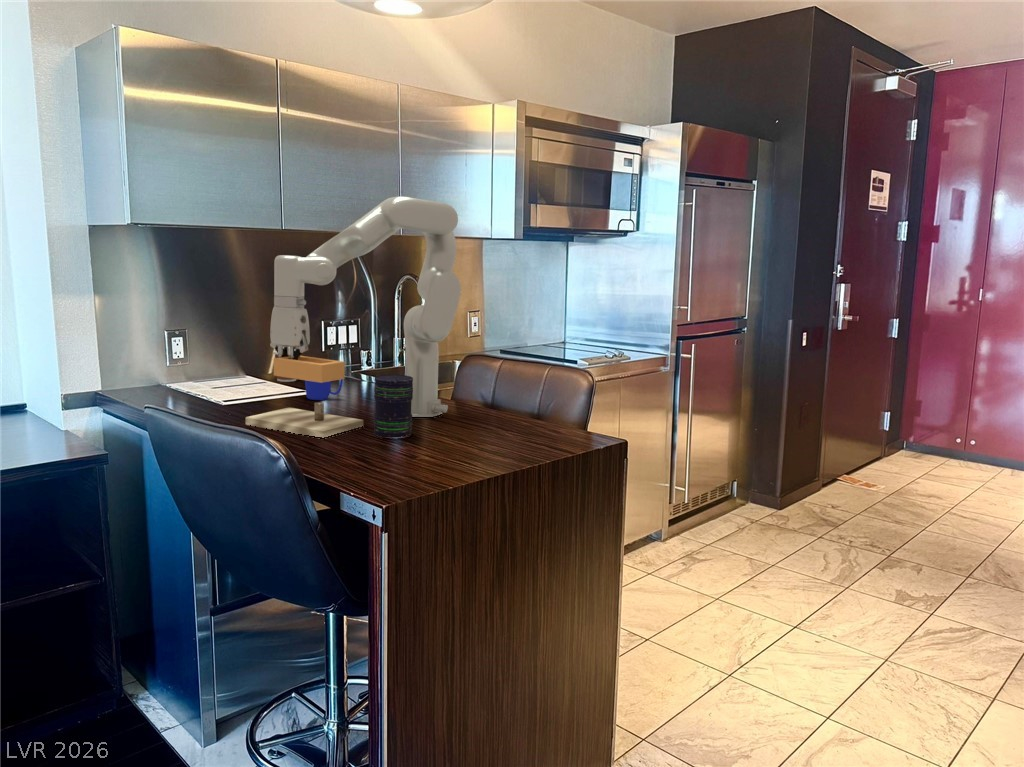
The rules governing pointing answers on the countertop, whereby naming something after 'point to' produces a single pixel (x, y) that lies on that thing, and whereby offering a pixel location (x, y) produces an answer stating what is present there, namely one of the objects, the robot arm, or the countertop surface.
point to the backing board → (303, 422)
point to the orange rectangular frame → (309, 369)
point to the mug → (320, 390)
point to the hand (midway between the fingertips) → (288, 371)
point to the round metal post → (319, 411)
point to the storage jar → (393, 405)
